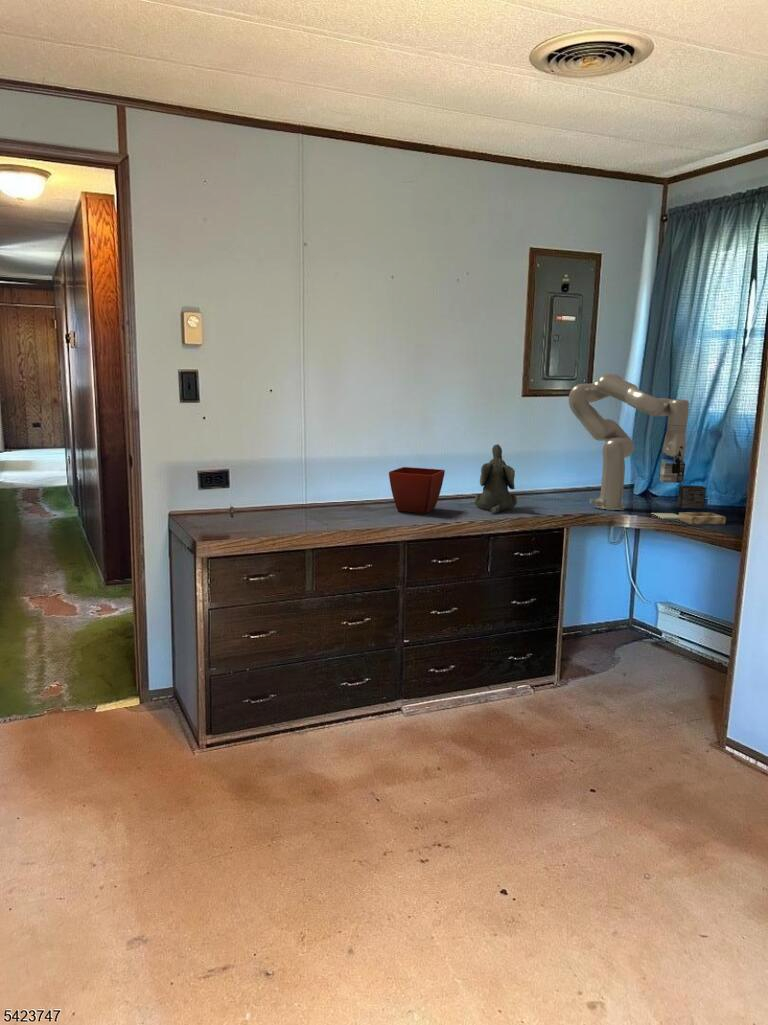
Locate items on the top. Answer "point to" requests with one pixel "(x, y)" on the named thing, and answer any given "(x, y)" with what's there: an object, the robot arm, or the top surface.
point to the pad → (666, 515)
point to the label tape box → (666, 470)
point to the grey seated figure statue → (496, 484)
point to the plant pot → (416, 488)
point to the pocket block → (701, 518)
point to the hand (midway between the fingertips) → (672, 472)
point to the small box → (691, 497)
